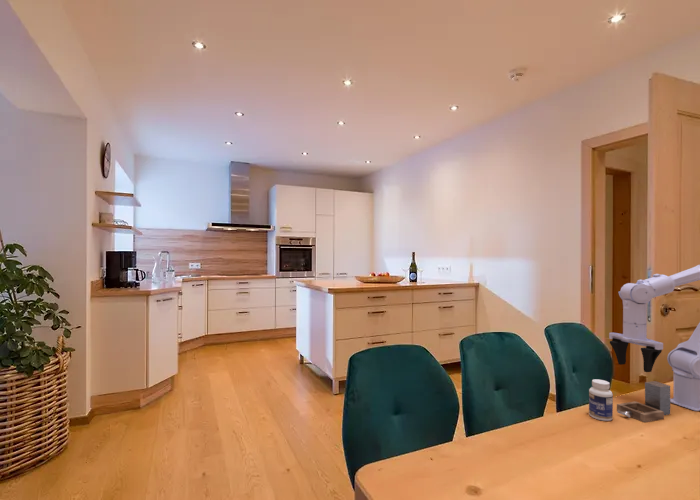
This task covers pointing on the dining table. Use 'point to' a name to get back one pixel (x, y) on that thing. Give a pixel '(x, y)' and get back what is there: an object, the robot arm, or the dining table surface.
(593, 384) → the pill bottle
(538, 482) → the dining table surface
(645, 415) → the walnut clamp block
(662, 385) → the steel post
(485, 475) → the dining table surface
